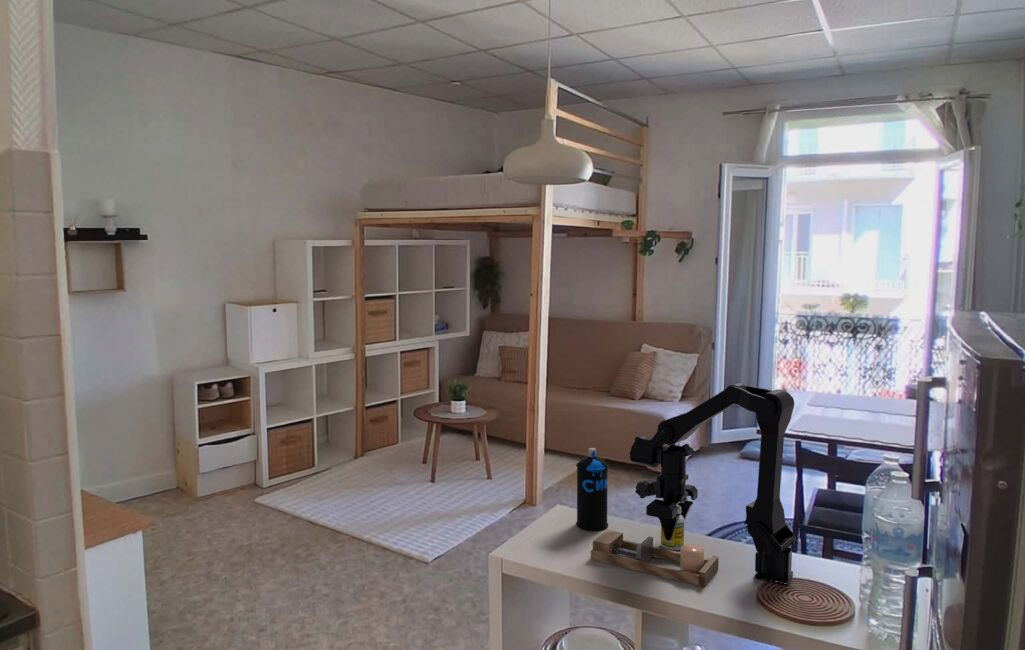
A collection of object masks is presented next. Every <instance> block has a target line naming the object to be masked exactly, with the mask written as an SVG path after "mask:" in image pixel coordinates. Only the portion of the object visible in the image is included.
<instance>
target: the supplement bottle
mask: <svg viewBox="0 0 1025 650" xmlns="http://www.w3.org/2000/svg"><path fill="white" fill-rule="evenodd" d="M676 506H677V507H678V512H677V513H678V514H680V516H679V519H678V521H677V524H676V527H675V530H674V532H673V535H672V537H671V540H666V539H665V535H664V532H663V529H662V525H661V524H660V545H661V548H662V549H666V550H671V551H679V550H680V548H681V546H683V545H685V520H684V517H683V516H682V515H681V506H679V505H676Z"/></svg>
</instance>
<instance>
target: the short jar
mask: <svg viewBox="0 0 1025 650" xmlns="http://www.w3.org/2000/svg"><path fill="white" fill-rule="evenodd" d="M679 552H680V563H679V565H680V567H679V570H682V571H686V572H690V573H695V574H699V571H700V570H701V569H702V568H703V566H704V558H705V553H706V552H705V548H704V547H703V546H700V545H697V544H684V545H683V546H681V548H680V551H679Z"/></svg>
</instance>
